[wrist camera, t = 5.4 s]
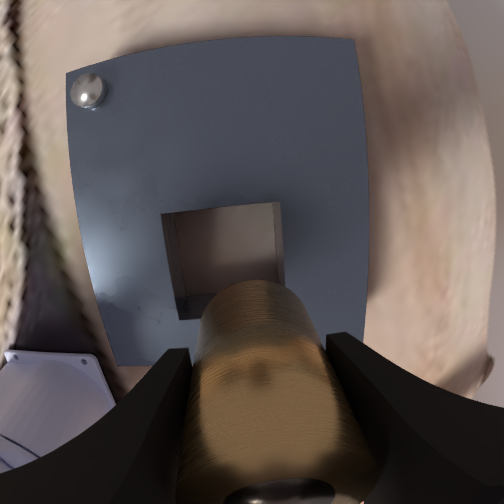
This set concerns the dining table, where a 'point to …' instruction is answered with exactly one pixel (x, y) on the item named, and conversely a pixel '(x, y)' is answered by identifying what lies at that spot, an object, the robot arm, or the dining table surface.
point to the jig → (219, 177)
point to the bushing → (268, 409)
